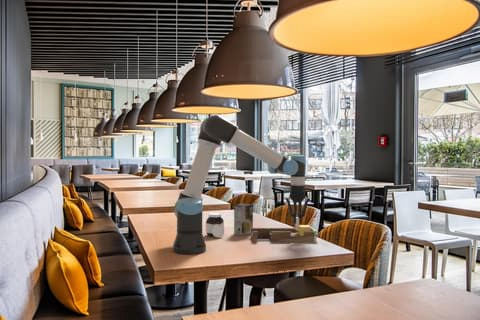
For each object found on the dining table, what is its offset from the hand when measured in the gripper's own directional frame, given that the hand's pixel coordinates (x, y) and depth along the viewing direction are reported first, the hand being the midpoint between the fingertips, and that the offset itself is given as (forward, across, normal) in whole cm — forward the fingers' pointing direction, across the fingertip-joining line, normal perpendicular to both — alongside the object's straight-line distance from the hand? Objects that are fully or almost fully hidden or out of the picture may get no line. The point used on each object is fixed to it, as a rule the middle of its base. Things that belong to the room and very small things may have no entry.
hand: (297, 229), depth 213 cm
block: (+2, -4, 0) cm, 4 cm away
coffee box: (+5, +27, -15) cm, 31 cm away
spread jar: (+5, +42, -9) cm, 43 cm away
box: (+5, +7, 0) cm, 9 cm away
